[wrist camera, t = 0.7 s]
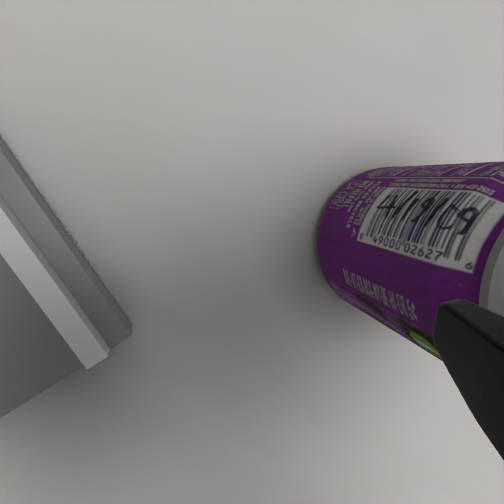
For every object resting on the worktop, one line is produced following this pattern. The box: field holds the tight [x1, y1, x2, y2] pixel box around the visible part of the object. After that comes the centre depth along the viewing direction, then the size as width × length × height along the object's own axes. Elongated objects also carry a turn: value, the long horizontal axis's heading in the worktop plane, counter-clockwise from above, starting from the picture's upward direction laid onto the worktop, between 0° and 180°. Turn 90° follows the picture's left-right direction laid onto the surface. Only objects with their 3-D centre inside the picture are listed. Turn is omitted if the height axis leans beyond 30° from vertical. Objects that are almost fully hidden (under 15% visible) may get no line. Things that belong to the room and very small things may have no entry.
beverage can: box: [318, 162, 504, 361], centre depth 18 cm, size 7×7×12 cm
